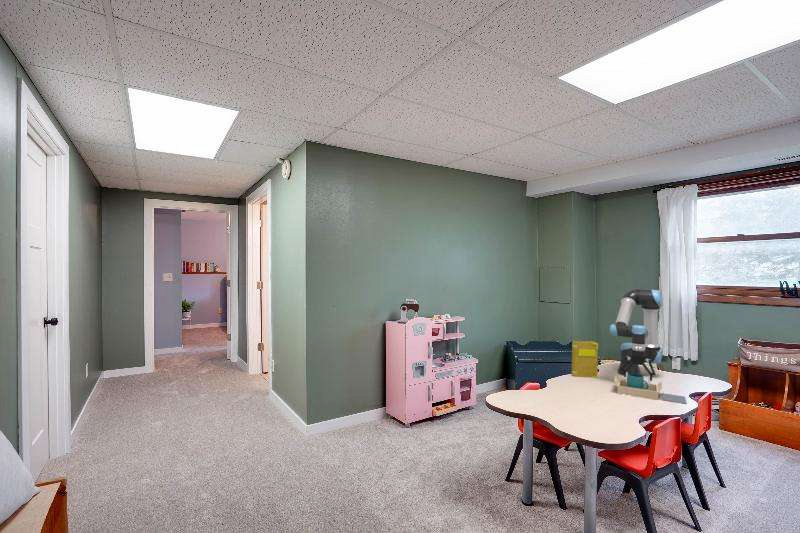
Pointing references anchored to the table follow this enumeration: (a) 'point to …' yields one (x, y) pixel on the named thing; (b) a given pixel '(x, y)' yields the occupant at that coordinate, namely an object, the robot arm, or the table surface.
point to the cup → (636, 381)
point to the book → (584, 359)
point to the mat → (674, 398)
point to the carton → (648, 393)
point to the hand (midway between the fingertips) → (637, 384)
